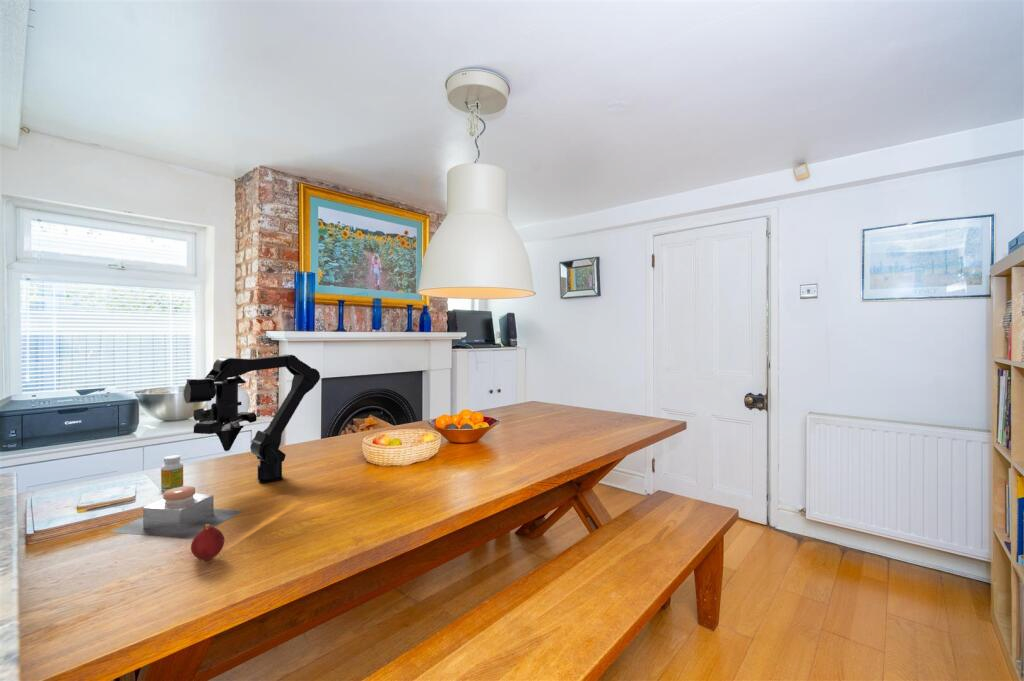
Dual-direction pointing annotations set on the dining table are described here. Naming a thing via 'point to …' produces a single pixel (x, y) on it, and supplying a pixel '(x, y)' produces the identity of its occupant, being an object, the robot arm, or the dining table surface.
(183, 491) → the terracotta plug
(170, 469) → the supplement bottle
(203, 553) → the onion
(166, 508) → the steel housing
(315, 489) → the dining table surface
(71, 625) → the dining table surface
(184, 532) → the slate board
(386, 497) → the dining table surface
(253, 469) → the dining table surface
